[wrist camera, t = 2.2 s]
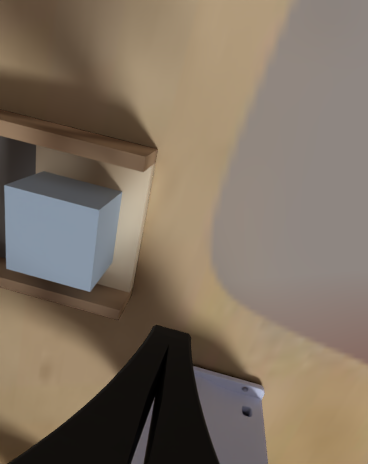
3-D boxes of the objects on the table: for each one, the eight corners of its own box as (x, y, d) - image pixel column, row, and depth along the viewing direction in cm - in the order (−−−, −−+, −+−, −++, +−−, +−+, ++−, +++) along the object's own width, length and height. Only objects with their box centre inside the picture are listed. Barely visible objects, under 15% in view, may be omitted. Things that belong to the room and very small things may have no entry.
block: (122, 191, 18) (99, 210, 15) (112, 262, 20) (90, 291, 17) (43, 171, 19) (4, 185, 15) (41, 243, 21) (6, 268, 17)
